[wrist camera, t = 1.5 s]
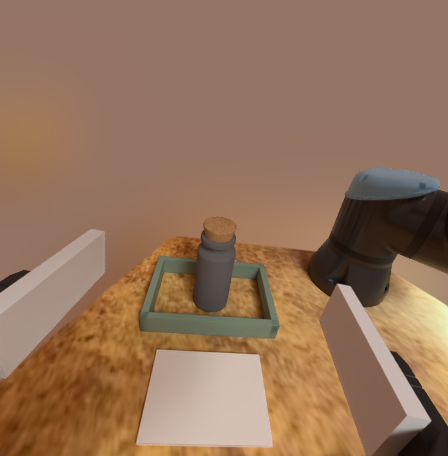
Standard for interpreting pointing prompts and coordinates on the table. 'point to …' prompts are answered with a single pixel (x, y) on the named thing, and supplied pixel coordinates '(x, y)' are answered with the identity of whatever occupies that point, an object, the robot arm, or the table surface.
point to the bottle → (214, 264)
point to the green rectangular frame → (209, 323)
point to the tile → (205, 401)
